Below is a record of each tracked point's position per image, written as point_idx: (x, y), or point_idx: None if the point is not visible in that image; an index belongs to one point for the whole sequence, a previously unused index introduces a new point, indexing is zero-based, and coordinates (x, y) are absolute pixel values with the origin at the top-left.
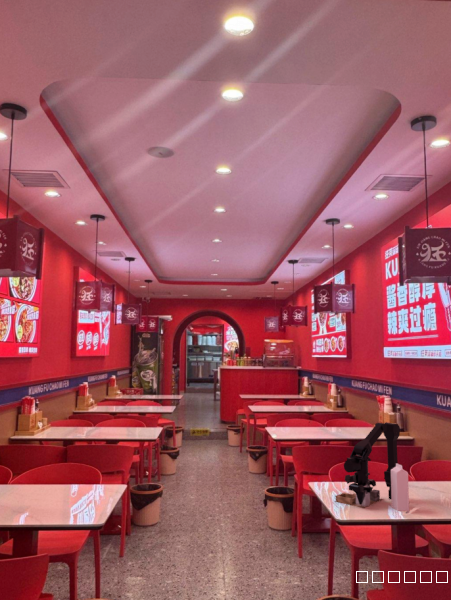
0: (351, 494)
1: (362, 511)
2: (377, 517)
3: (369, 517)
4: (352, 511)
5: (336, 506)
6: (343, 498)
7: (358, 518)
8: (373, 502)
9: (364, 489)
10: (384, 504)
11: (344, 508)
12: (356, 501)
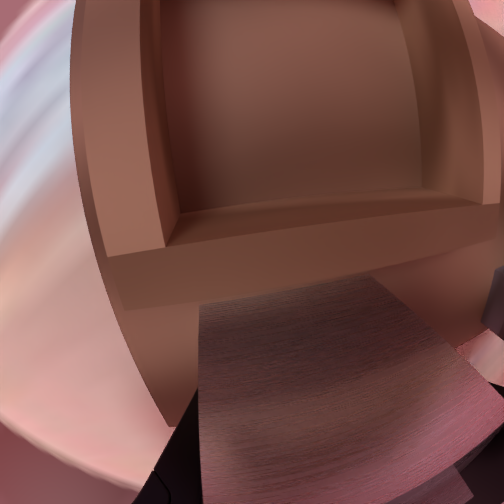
0: (478, 69)
1: (138, 402)
2: (141, 479)
3: (90, 459)
4: (40, 344)
5: (16, 89)
6: (90, 49)
7: (15, 423)
8: (450, 338)
9: (497, 468)
10: (472, 344)
11: (24, 215)
12: (202, 352)
